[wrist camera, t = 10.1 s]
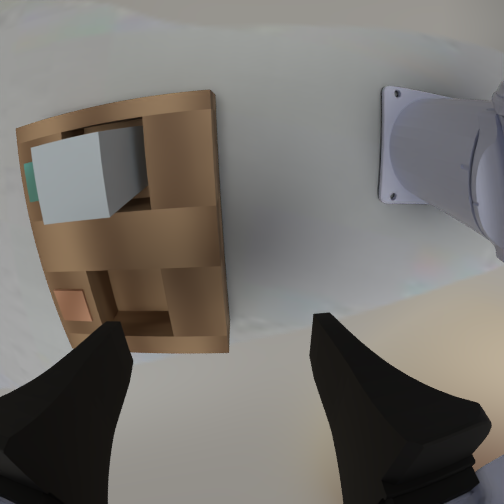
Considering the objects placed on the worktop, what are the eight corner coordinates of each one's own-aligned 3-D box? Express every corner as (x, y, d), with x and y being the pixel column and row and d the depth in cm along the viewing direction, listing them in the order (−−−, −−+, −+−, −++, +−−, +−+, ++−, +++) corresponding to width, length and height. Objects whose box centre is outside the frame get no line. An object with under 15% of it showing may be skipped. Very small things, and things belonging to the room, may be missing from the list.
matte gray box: (146, 125, 17) (98, 131, 11) (152, 182, 18) (109, 217, 12) (94, 134, 17) (30, 147, 10) (100, 188, 18) (44, 224, 12)
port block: (215, 94, 17) (209, 89, 14) (229, 321, 23) (228, 354, 20) (45, 124, 17) (13, 128, 13) (88, 321, 23) (71, 349, 20)
